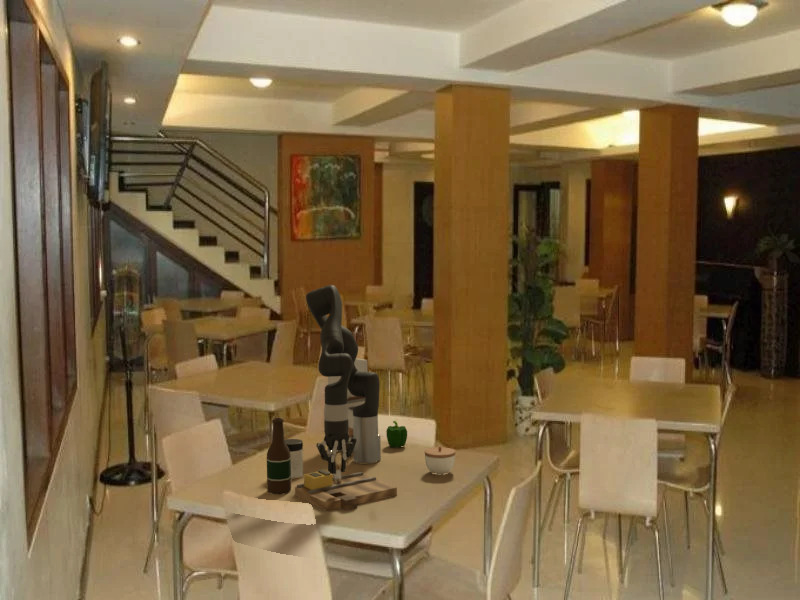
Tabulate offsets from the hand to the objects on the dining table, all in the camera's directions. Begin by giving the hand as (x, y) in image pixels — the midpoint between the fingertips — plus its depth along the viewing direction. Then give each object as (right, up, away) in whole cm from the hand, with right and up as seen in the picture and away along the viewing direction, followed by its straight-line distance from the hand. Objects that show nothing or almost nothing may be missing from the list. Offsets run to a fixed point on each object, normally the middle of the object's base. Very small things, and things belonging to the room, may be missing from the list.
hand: (337, 472), depth 264 cm
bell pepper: (+18, -5, +71) cm, 73 cm away
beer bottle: (-20, -9, +13) cm, 26 cm away
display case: (-1, -5, +69) cm, 69 cm away
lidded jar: (+34, -7, +33) cm, 48 cm away
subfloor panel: (+2, -9, +8) cm, 12 cm away
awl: (0, -4, 0) cm, 4 cm away
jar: (-18, -8, +32) cm, 37 cm away
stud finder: (-7, -6, +9) cm, 13 cm away
